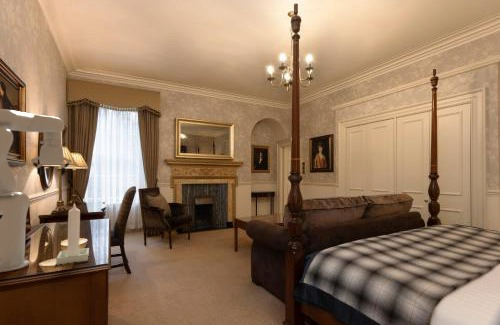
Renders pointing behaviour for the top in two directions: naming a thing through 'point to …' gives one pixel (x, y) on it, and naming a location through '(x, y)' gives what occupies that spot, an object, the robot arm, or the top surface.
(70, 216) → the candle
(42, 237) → the top surface
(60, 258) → the tray
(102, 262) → the top surface
